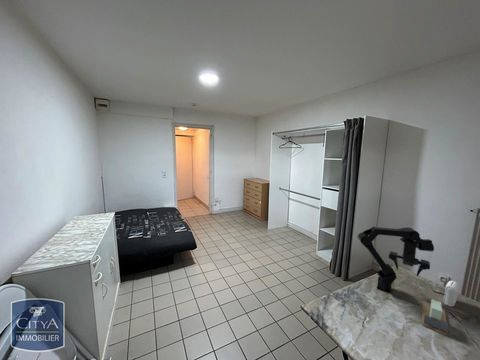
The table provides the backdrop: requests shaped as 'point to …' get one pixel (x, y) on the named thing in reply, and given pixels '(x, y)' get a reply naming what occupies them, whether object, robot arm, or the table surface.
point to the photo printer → (451, 293)
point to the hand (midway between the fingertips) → (407, 272)
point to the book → (435, 310)
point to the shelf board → (426, 312)
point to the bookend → (435, 323)
